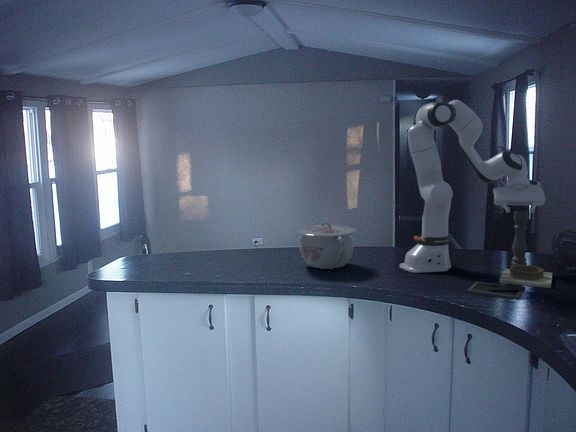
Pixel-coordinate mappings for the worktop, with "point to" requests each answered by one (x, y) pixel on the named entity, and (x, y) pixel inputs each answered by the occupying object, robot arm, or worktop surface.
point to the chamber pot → (326, 245)
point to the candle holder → (519, 238)
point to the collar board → (526, 276)
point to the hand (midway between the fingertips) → (519, 211)
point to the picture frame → (497, 290)
